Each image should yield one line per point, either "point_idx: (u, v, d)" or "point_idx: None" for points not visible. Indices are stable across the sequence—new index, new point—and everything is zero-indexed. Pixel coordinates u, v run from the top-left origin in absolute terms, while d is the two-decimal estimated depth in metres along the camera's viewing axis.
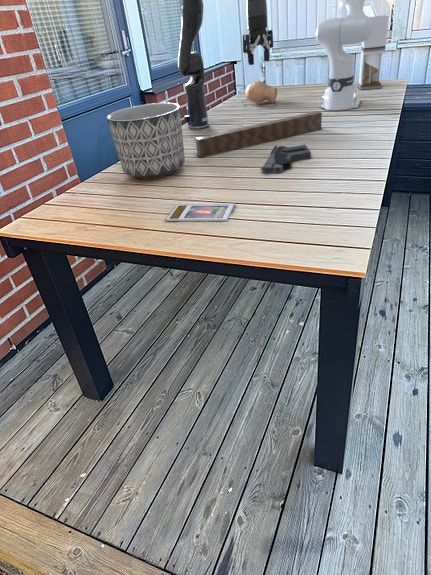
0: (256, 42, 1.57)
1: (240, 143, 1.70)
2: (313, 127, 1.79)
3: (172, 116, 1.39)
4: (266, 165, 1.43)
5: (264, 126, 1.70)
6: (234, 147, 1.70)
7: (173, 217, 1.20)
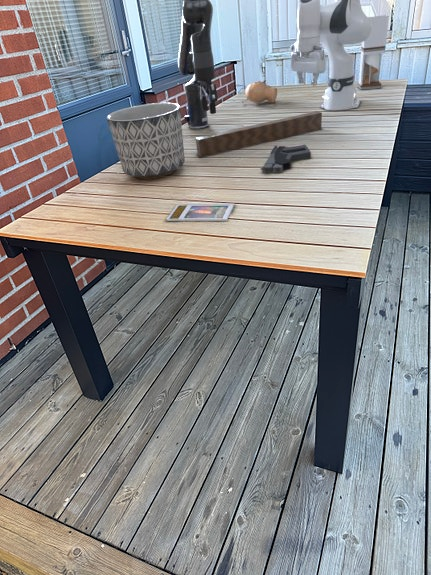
0: (200, 91, 1.58)
1: (240, 143, 1.70)
2: (313, 127, 1.79)
3: (172, 116, 1.39)
4: (266, 165, 1.43)
5: (264, 126, 1.70)
6: (234, 147, 1.70)
7: (173, 217, 1.20)
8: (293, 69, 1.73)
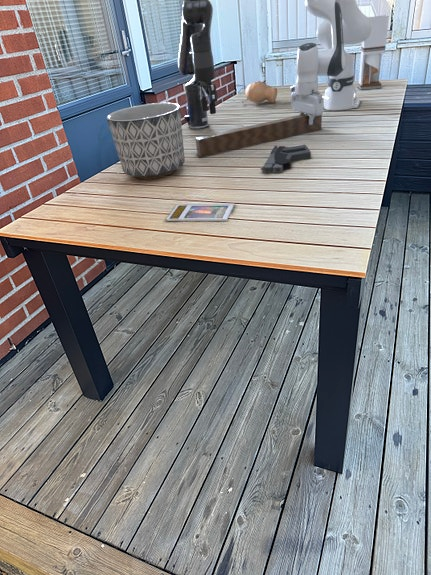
0: (200, 91, 1.58)
1: (240, 143, 1.70)
2: (313, 127, 1.79)
3: (172, 116, 1.39)
4: (266, 165, 1.43)
5: (264, 126, 1.70)
6: (234, 147, 1.70)
7: (173, 217, 1.20)
8: (293, 108, 1.82)
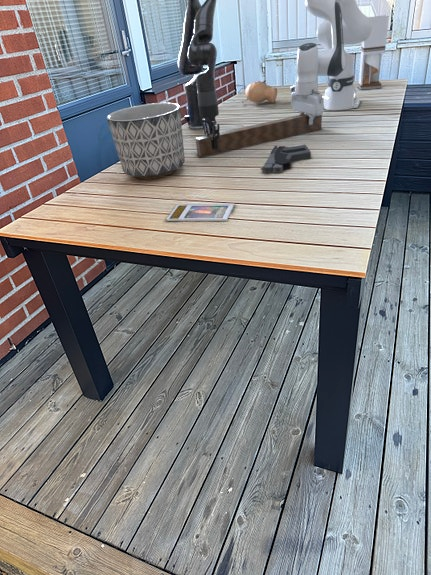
0: (205, 127, 1.65)
1: (240, 143, 1.70)
2: (313, 127, 1.79)
3: (172, 116, 1.39)
4: (266, 165, 1.43)
5: (264, 126, 1.70)
6: (234, 147, 1.70)
7: (173, 217, 1.20)
8: (293, 108, 1.82)
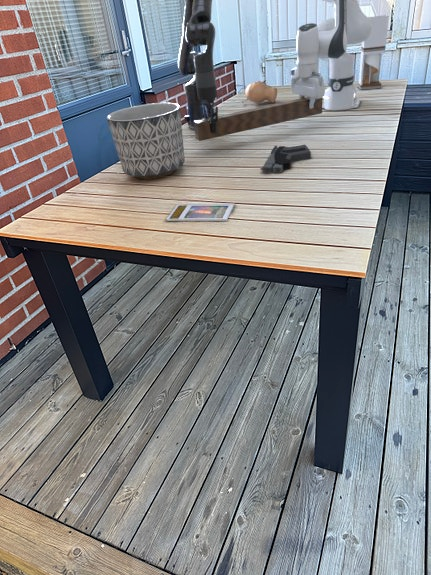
0: (203, 110, 1.62)
1: (239, 127, 1.67)
2: (314, 111, 1.75)
3: (172, 116, 1.39)
4: (266, 165, 1.43)
5: (264, 109, 1.67)
6: (233, 131, 1.67)
7: (173, 217, 1.20)
8: (293, 92, 1.78)
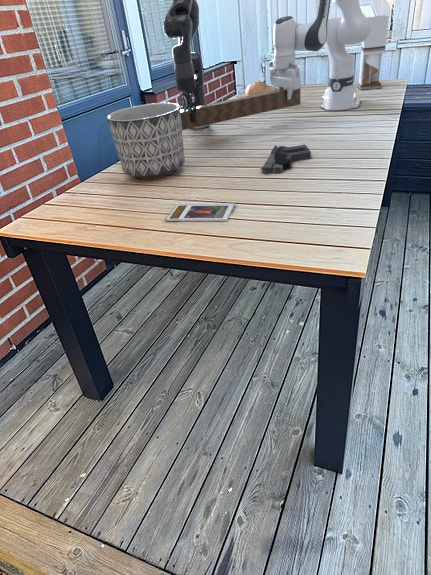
0: (183, 101, 1.67)
1: (219, 117, 1.72)
2: (292, 102, 1.80)
3: (172, 116, 1.39)
4: (266, 165, 1.43)
5: (242, 100, 1.72)
6: (212, 121, 1.71)
7: (173, 217, 1.20)
8: (272, 83, 1.83)
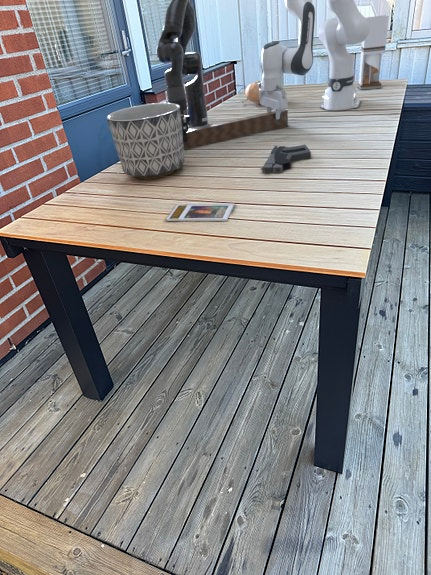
0: None
1: (210, 139, 1.81)
2: (280, 124, 1.90)
3: (172, 116, 1.39)
4: (266, 165, 1.43)
5: (232, 123, 1.81)
6: (203, 143, 1.80)
7: (173, 217, 1.20)
8: (261, 103, 1.92)
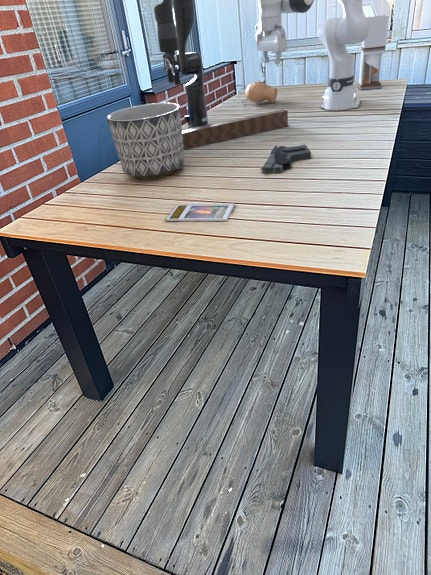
0: (165, 63, 1.63)
1: (210, 139, 1.81)
2: (280, 124, 1.90)
3: (172, 116, 1.39)
4: (266, 165, 1.43)
5: (232, 123, 1.81)
6: (203, 143, 1.80)
7: (173, 217, 1.20)
8: (259, 49, 1.79)
